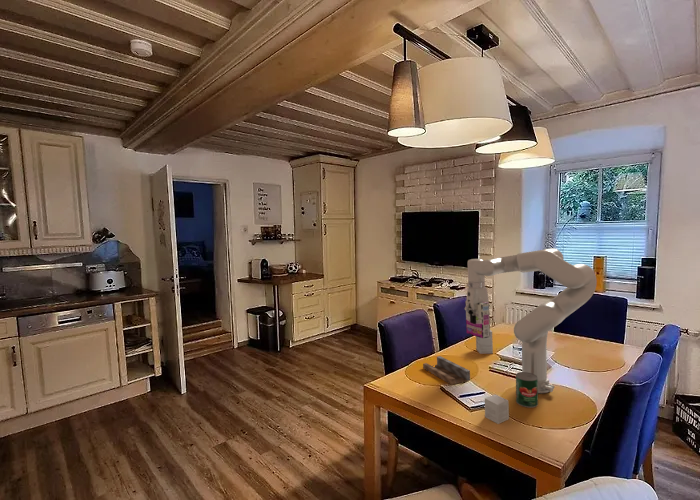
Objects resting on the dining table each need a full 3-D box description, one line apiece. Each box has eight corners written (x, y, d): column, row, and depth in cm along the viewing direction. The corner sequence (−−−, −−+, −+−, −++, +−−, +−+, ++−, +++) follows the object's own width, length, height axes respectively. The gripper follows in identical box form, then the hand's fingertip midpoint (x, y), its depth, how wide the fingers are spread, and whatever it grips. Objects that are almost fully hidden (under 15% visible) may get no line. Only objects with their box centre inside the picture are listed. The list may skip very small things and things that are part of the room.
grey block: (495, 412, 138) (495, 393, 138) (509, 419, 133) (509, 400, 133) (484, 417, 135) (484, 398, 135) (498, 424, 130) (497, 404, 130)
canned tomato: (525, 409, 140) (525, 381, 139) (511, 399, 147) (511, 373, 147) (542, 405, 142) (542, 378, 141) (527, 396, 149) (527, 370, 149)
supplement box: (489, 349, 207) (488, 327, 206) (493, 353, 199) (492, 331, 198) (475, 349, 207) (475, 327, 206) (479, 353, 200) (478, 331, 199)
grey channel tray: (470, 380, 167) (469, 370, 167) (451, 385, 163) (451, 375, 163) (440, 364, 188) (439, 356, 187) (423, 368, 183) (422, 359, 183)
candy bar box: (491, 337, 170) (489, 302, 169) (483, 339, 168) (481, 304, 167) (473, 331, 181) (472, 299, 180) (465, 333, 178) (464, 300, 178)
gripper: (468, 287, 166) (469, 326, 167) (496, 283, 173) (497, 321, 174) (457, 285, 173) (458, 323, 174) (484, 282, 180) (485, 318, 181)
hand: (477, 321), depth 174 cm, fingers closed on candy bar box, 5 cm apart
